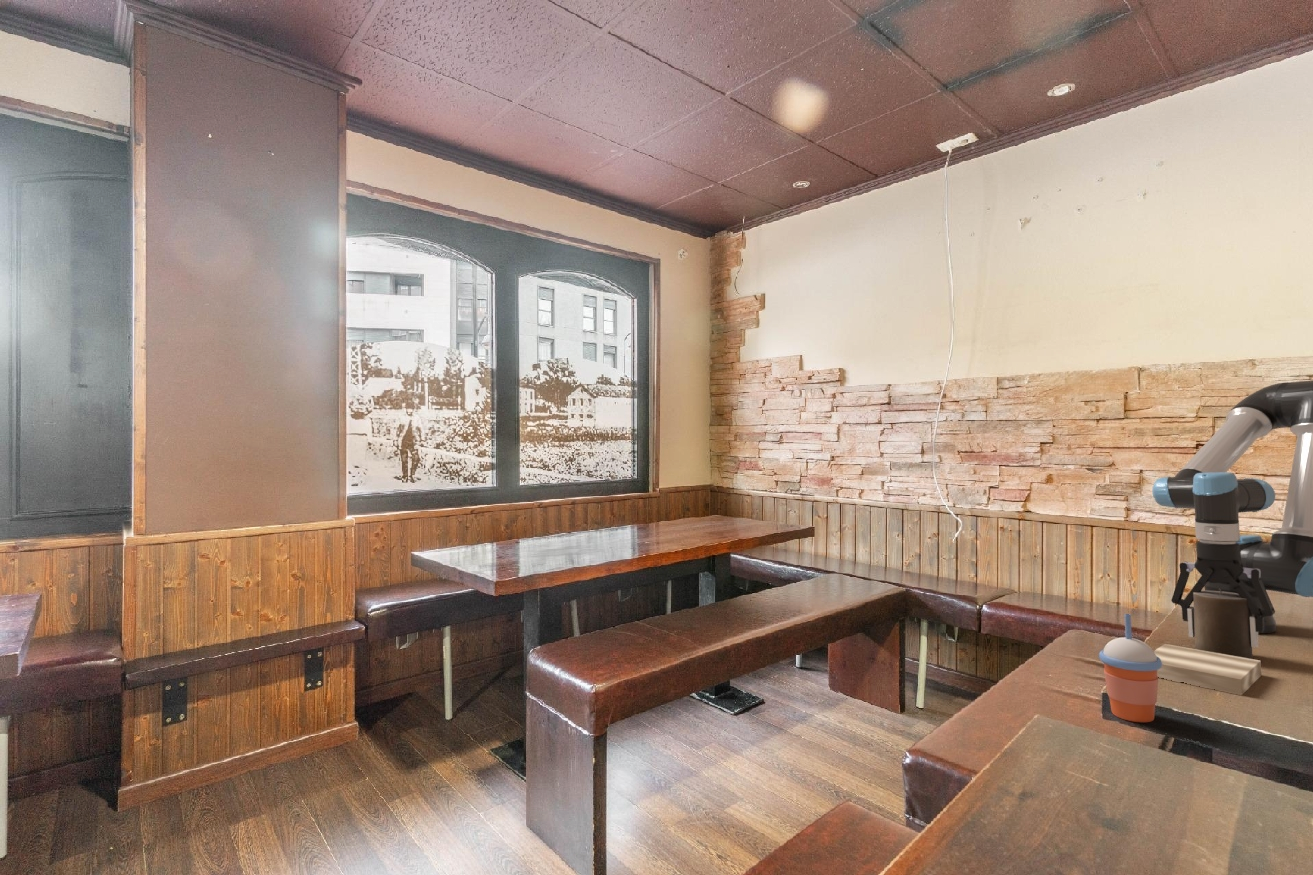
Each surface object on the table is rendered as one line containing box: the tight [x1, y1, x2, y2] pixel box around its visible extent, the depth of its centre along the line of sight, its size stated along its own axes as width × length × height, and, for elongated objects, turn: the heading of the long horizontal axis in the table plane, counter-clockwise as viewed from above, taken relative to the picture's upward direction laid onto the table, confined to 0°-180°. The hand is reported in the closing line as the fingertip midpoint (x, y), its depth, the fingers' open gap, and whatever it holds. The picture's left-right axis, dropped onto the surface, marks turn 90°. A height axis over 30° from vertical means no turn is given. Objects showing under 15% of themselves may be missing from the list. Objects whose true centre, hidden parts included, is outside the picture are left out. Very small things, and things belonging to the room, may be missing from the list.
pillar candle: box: [1193, 589, 1254, 659], centre depth 146 cm, size 10×10×15 cm
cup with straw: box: [1098, 613, 1162, 723], centre depth 116 cm, size 9×9×18 cm
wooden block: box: [1153, 643, 1262, 696], centre depth 135 cm, size 16×16×3 cm
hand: (1222, 641), depth 145 cm, fingers open, 10 cm apart
